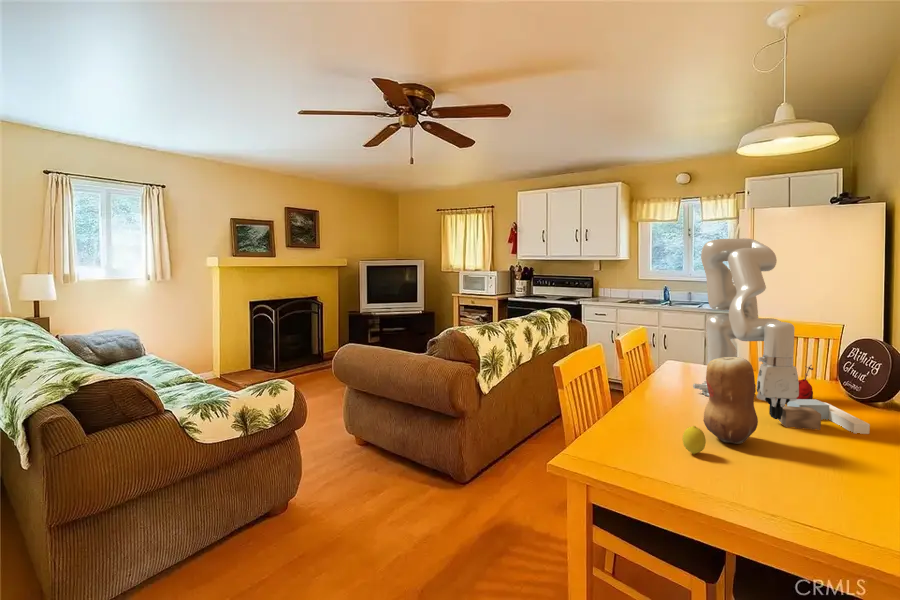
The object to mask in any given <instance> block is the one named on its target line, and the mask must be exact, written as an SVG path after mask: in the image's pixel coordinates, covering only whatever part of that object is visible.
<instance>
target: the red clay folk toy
mask: <svg viewBox="0 0 900 600" xmlns="http://www.w3.org/2000/svg"><path fill="white" fill-rule="evenodd" d="M812 366H813V365H812V364H810V365H809V366H806V365H804V367H805V368H806V369H807V372H806V373H805V374H804V375H805V377H804V378H802V379H798V381H799V396H798V397H797V399H814V396H813V395H814V391H813V386H812V384H811V383H809V381H808V379H807V377H808V376H809V375H808V373H809V370H811V371H814V367H812Z"/></svg>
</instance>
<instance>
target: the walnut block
mask: <svg viewBox="0 0 900 600" xmlns="http://www.w3.org/2000/svg"><path fill="white" fill-rule="evenodd" d="M778 420H779V421H780V422H781V423H780V422H779V421H778ZM777 421H778V422H779V423H780V424H782V425H783V427H785V428H790V427H795V428H794V429H803V428H804V430H815V429H817V431H821V427H822V426H821V425H822V420H821V414H820V413H819V412H817V411H816V410H814V409H813V408H806V407H792V406H787V405H785V406H784V407H783V414H782V416H781V419H777Z"/></svg>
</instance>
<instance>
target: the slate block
mask: <svg viewBox="0 0 900 600" xmlns="http://www.w3.org/2000/svg"><path fill="white" fill-rule="evenodd" d="M823 402H824V401H821V400H818V399H814V398H813V399H797V400H796V401H789V402H788V403H787V404H786V406H792V407H806V408H813V409H814V410H816V411H817V412H819V413H820V414H821V421H823V419H824V420H825V419H826V421H829V420H828V419H829V405H828V404H829V403H828V404H825V403H826V402H825V403H823Z"/></svg>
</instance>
